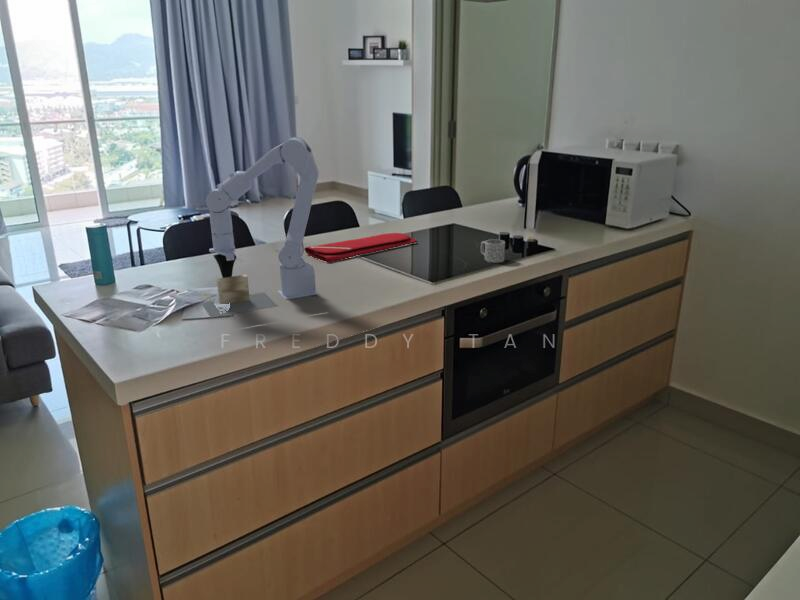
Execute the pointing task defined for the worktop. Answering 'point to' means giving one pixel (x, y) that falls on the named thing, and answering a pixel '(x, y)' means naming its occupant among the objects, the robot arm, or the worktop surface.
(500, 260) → the mug
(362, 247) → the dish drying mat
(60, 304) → the worktop surface
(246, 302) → the rubber mat
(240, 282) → the maple tile
